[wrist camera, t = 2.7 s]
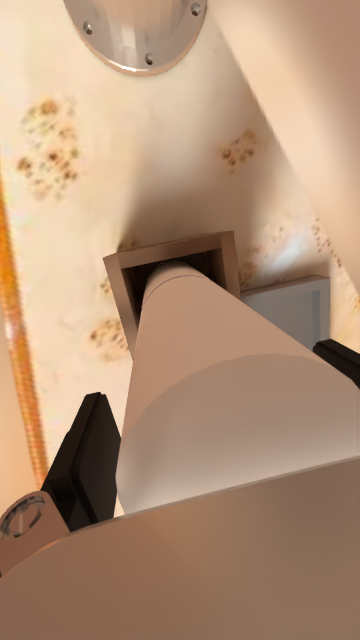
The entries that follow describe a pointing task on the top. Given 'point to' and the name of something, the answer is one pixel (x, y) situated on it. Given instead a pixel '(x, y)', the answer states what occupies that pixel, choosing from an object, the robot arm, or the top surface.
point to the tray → (295, 307)
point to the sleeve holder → (120, 263)
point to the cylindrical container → (223, 397)
